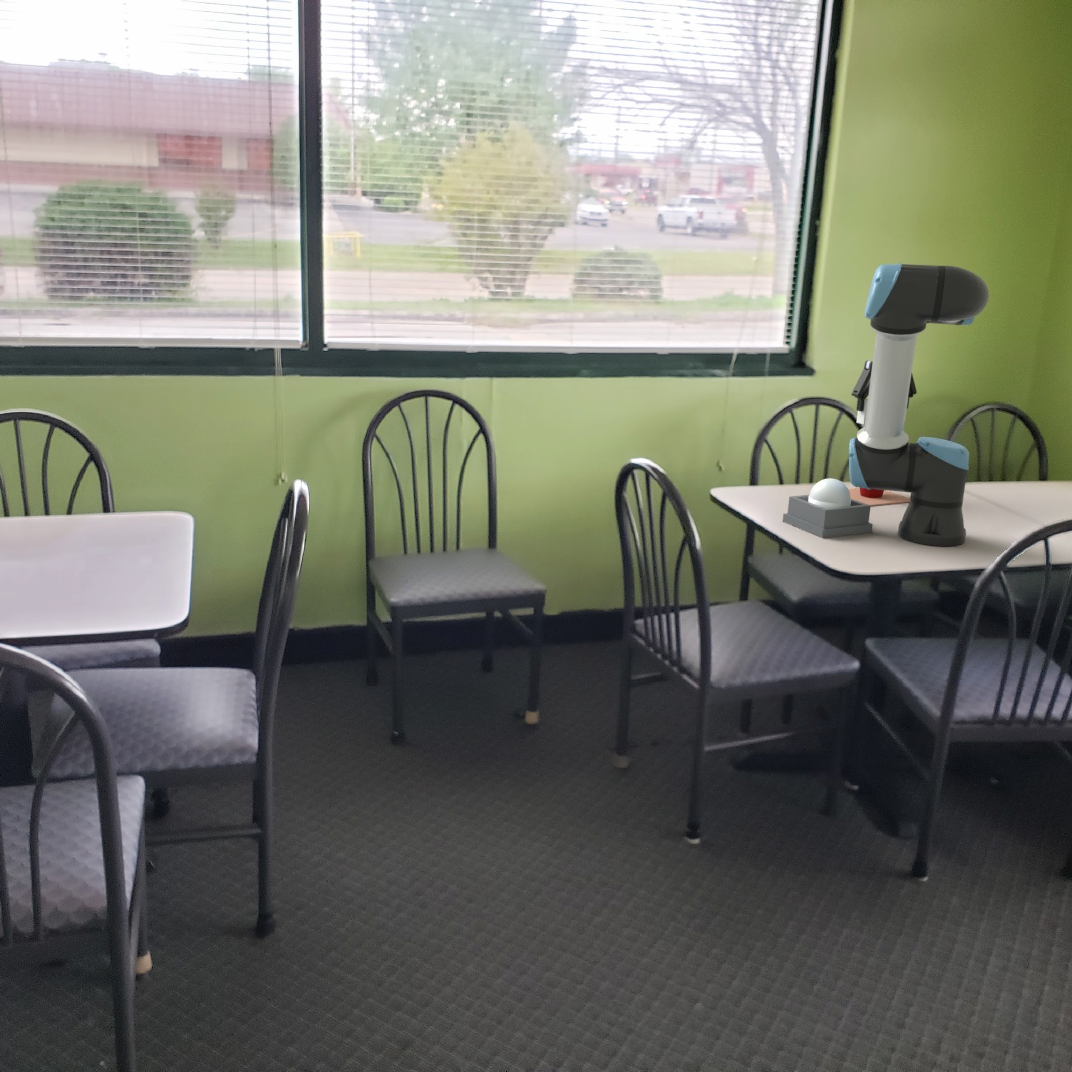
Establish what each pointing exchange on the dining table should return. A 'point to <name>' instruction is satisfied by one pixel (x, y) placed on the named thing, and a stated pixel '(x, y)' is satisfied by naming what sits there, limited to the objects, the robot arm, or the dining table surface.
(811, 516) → the dome housing
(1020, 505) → the dining table surface
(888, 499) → the mat
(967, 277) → the robot arm
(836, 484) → the dome
